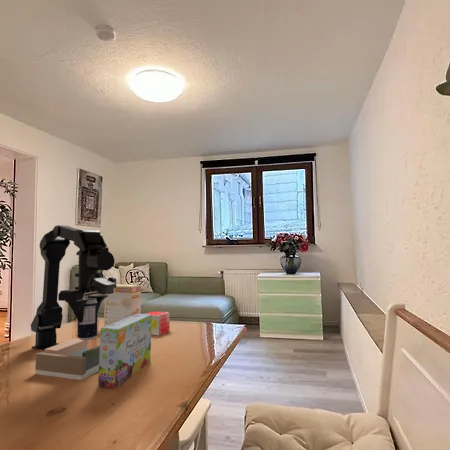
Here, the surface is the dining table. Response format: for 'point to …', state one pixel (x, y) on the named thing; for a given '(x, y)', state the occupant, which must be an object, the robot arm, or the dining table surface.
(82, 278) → the robot arm
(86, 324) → the beverage can
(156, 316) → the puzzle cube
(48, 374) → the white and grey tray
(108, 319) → the coffeecake box
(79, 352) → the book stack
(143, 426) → the dining table surface
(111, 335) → the snack box
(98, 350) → the grey flat plate
